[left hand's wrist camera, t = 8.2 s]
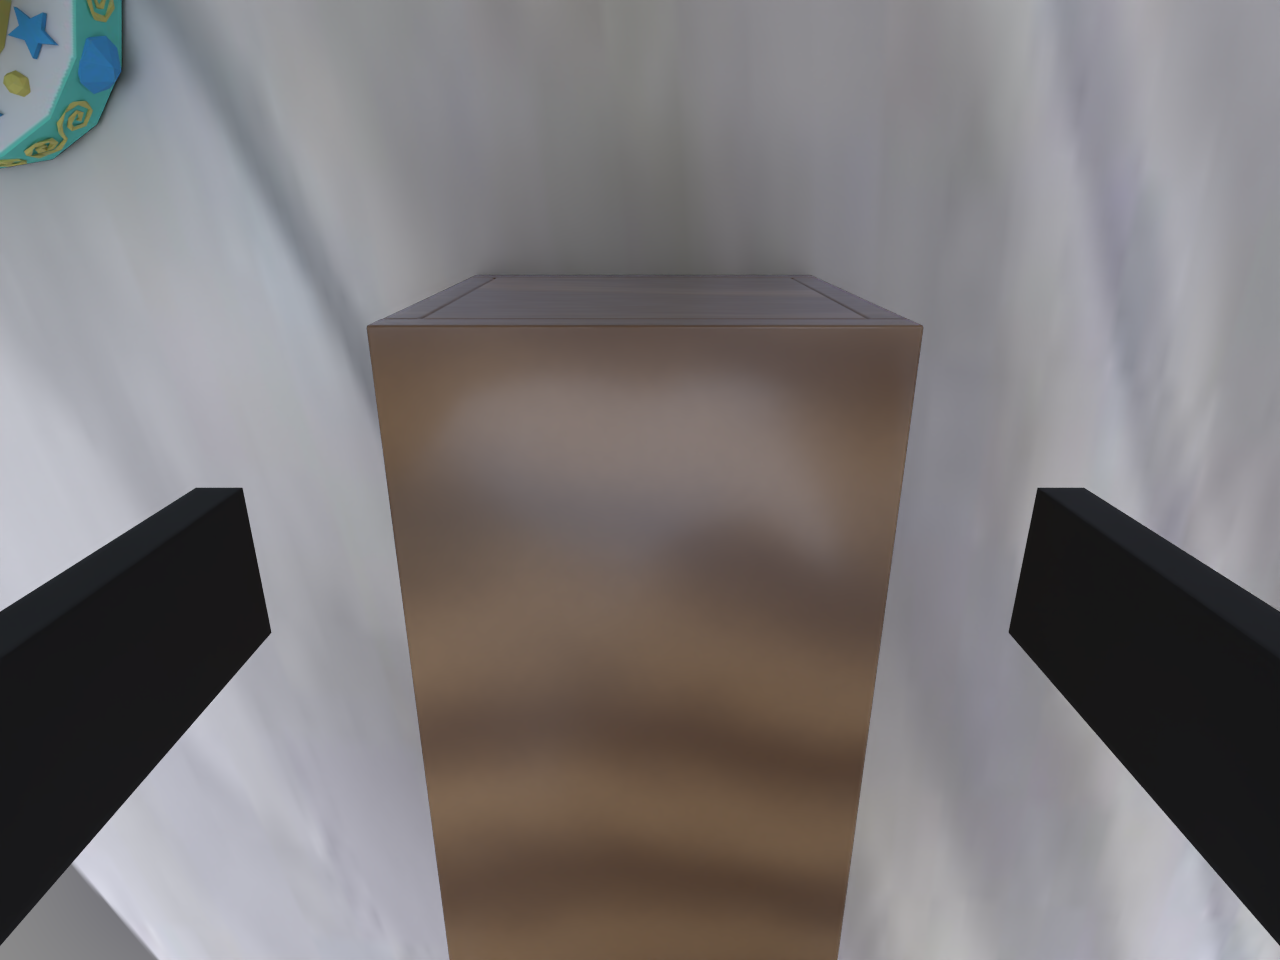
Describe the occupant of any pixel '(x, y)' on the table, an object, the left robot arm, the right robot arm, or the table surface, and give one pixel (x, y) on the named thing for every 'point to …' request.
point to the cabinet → (644, 601)
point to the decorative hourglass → (54, 73)
